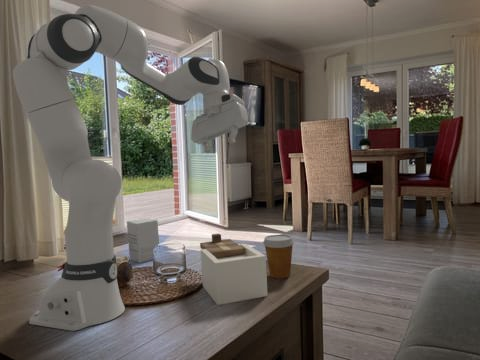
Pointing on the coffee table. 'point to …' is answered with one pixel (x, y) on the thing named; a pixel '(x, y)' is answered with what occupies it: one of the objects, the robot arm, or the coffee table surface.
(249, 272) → the box
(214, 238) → the lid
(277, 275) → the disposable coffee cup
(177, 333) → the coffee table surface
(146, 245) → the supplement box
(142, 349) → the coffee table surface
